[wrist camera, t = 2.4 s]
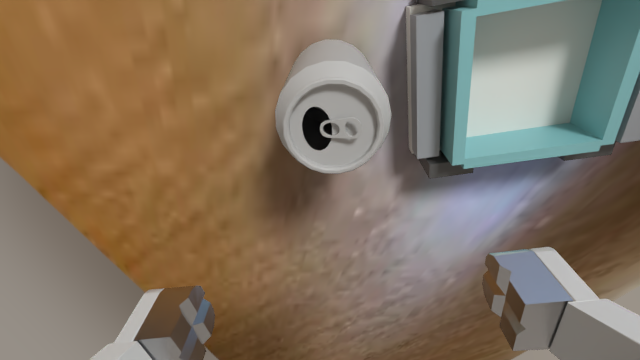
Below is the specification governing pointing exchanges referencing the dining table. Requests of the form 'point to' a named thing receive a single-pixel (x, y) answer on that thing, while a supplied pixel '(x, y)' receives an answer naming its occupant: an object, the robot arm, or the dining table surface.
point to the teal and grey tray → (520, 80)
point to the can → (332, 109)
